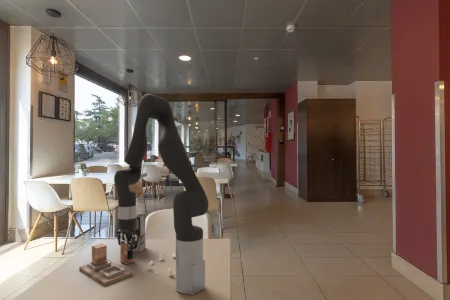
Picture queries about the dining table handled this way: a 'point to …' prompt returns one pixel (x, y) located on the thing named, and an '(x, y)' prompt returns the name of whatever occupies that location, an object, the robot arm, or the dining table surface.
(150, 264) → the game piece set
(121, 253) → the pin
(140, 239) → the coffee box
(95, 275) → the board
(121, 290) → the dining table surface
